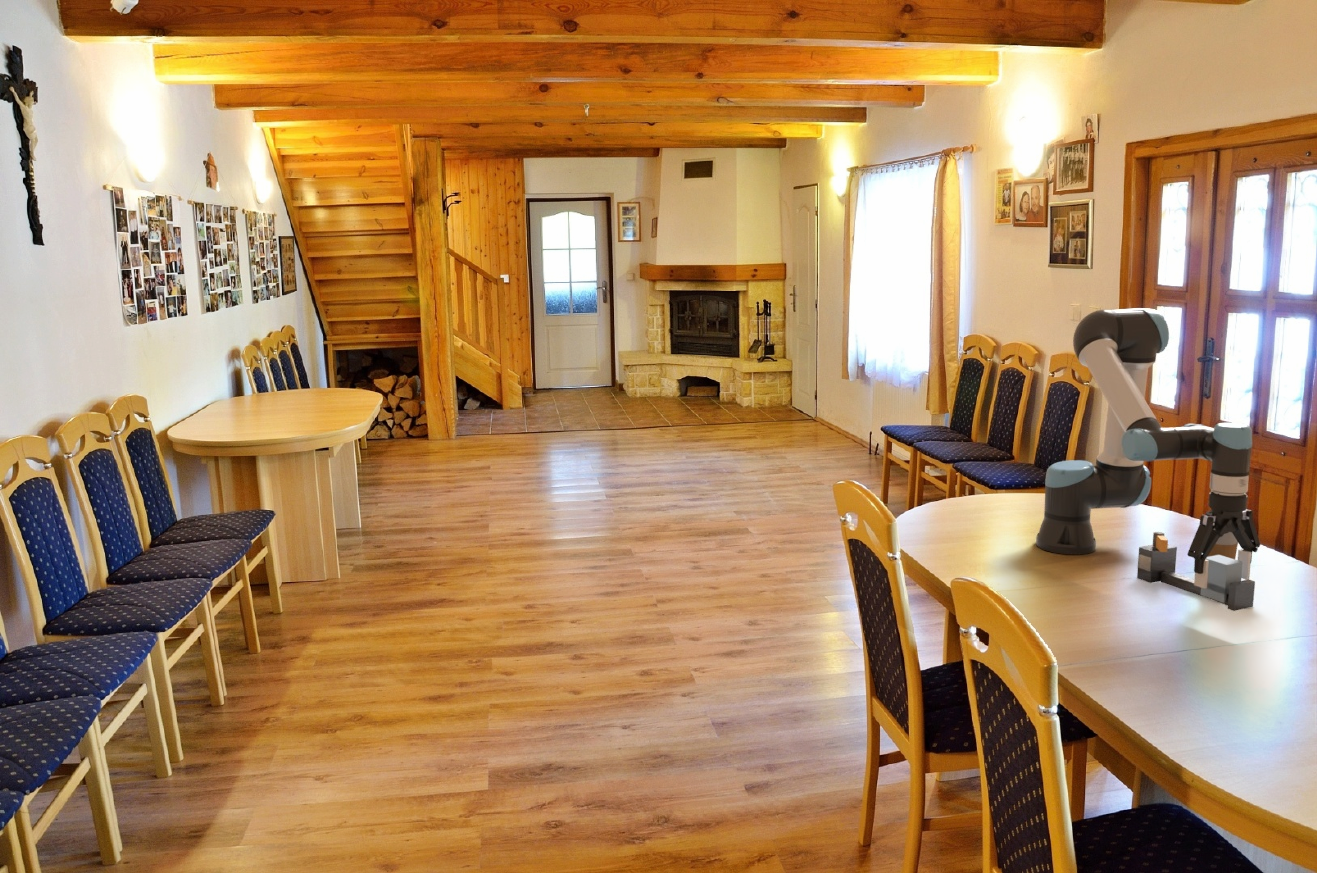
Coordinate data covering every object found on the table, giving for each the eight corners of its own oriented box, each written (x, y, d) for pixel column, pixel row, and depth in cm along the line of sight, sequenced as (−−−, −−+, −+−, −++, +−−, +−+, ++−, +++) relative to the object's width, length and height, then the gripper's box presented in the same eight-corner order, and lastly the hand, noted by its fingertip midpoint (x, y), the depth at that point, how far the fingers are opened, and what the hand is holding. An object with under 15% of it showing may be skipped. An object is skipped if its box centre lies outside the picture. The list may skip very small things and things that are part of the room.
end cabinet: (1136, 578, 243) (1138, 547, 241) (1160, 573, 246) (1163, 542, 244) (1150, 583, 239) (1152, 551, 238) (1174, 578, 242) (1176, 547, 241)
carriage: (1200, 594, 228) (1203, 557, 226) (1215, 591, 230) (1218, 554, 228) (1223, 603, 223) (1226, 565, 221) (1239, 599, 224) (1242, 561, 223)
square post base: (1227, 608, 221) (1229, 583, 220) (1246, 604, 224) (1248, 579, 222) (1234, 611, 220) (1236, 585, 219) (1252, 606, 222) (1255, 581, 221)
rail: (1160, 582, 240) (1161, 572, 239) (1167, 580, 241) (1168, 570, 240) (1231, 606, 222) (1232, 596, 222) (1239, 605, 223) (1240, 594, 223)
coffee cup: (1242, 578, 241) (1247, 519, 238) (1205, 577, 242) (1209, 518, 240) (1230, 567, 249) (1235, 510, 246) (1194, 566, 250) (1198, 509, 248)
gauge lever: (1158, 551, 236) (1159, 539, 236) (1151, 544, 242) (1152, 531, 242) (1169, 552, 236) (1170, 539, 235) (1162, 544, 242) (1162, 532, 241)
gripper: (1203, 501, 214) (1196, 595, 217) (1282, 489, 223) (1275, 579, 227) (1173, 494, 221) (1167, 585, 224) (1251, 482, 230) (1245, 570, 233)
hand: (1221, 582), depth 225 cm, fingers open, 13 cm apart
